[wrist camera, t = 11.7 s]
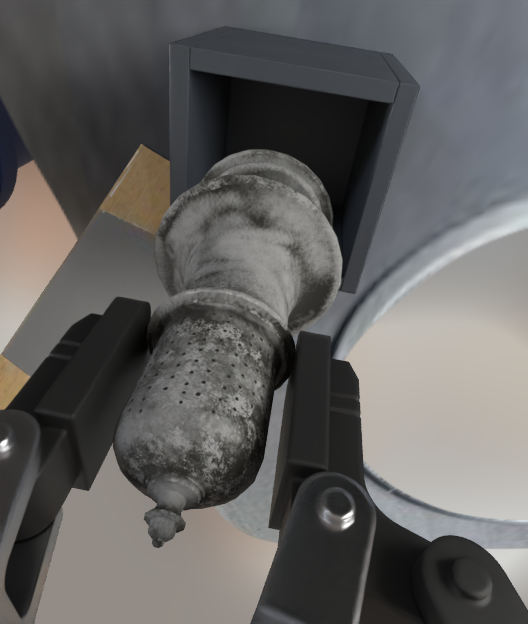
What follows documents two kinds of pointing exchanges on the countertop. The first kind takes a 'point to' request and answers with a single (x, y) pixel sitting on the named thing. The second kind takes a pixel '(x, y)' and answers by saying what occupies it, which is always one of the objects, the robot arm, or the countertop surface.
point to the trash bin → (293, 119)
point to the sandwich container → (97, 269)
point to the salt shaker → (225, 330)
